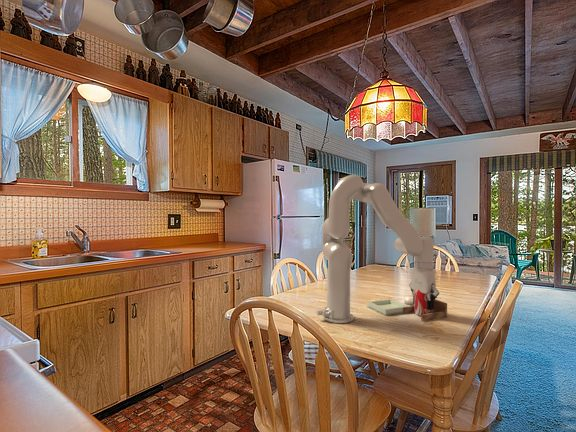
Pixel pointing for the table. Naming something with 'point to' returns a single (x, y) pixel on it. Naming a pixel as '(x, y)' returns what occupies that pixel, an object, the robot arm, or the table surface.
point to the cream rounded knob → (409, 300)
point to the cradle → (437, 312)
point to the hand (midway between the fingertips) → (423, 306)
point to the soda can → (421, 303)
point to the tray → (386, 306)
